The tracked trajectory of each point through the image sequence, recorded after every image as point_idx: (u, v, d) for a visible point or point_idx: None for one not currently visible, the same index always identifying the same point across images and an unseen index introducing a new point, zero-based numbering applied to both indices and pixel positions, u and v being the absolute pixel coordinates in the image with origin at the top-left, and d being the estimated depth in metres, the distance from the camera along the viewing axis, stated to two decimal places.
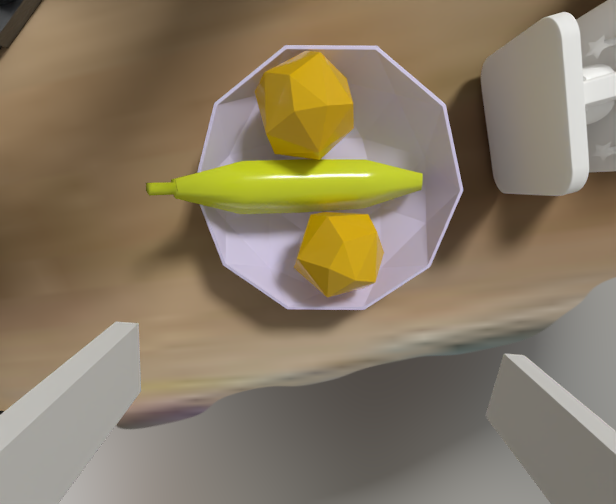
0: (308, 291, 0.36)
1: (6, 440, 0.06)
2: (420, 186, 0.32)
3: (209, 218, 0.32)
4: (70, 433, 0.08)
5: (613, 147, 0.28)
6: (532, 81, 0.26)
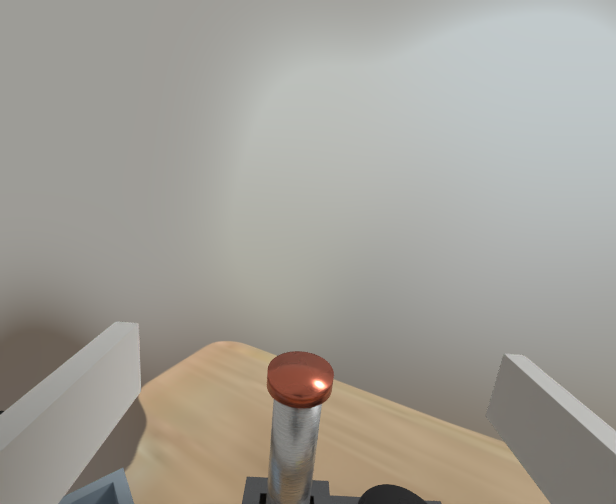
0: None
1: (6, 440, 0.06)
2: None
3: None
4: (70, 433, 0.08)
5: None
6: None
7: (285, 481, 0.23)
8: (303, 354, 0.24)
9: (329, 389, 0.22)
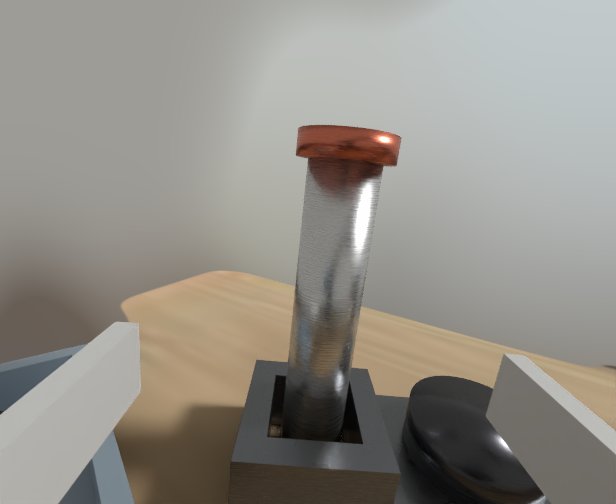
0: None
1: (6, 440, 0.06)
2: None
3: None
4: (70, 433, 0.08)
5: None
6: None
7: (322, 311, 0.15)
8: None
9: (397, 148, 0.14)
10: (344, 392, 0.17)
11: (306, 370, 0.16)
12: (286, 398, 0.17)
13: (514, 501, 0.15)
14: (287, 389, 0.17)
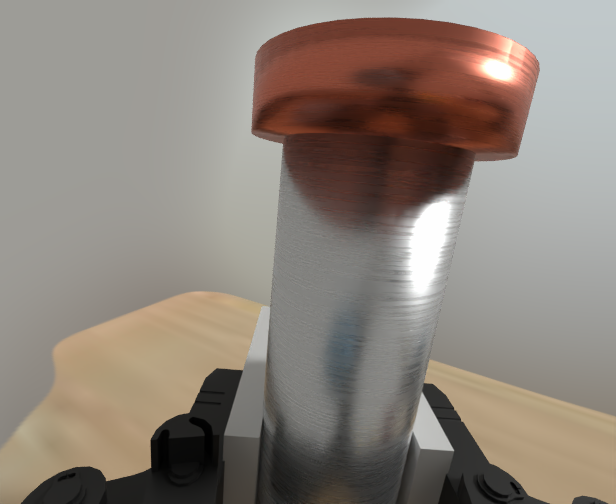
0: None
1: None
2: None
3: None
4: None
5: None
6: None
7: None
8: None
9: (528, 109, 0.05)
10: None
11: None
12: None
13: None
14: None
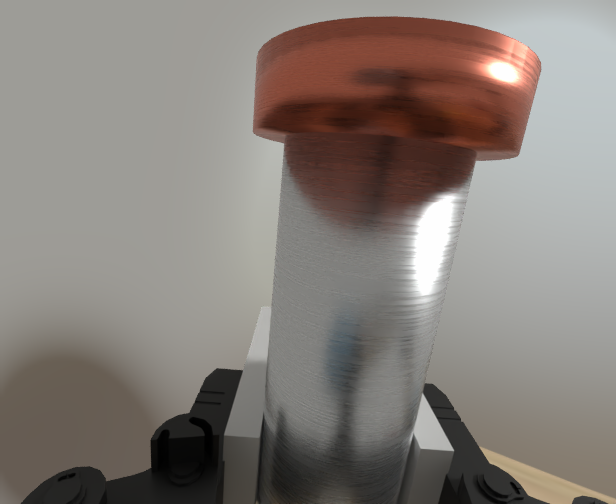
0: None
1: (265, 382, 0.08)
2: None
3: None
4: None
5: None
6: None
7: None
8: None
9: (530, 108, 0.05)
10: None
11: None
12: None
13: None
14: None
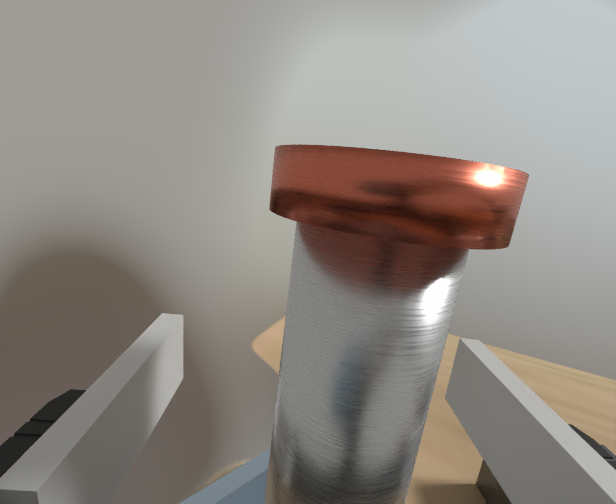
0: None
1: (98, 411, 0.07)
2: None
3: None
4: (137, 410, 0.08)
5: None
6: None
7: None
8: None
9: None
10: None
11: None
12: None
13: None
14: None
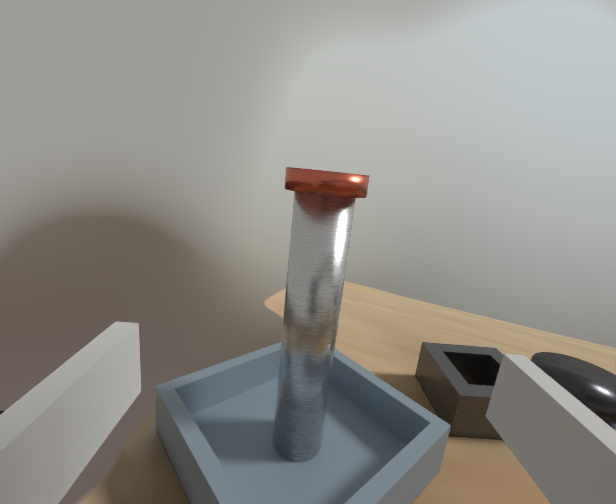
0: None
1: (6, 440, 0.06)
2: None
3: None
4: (70, 433, 0.08)
5: None
6: None
7: (307, 315, 0.18)
8: None
9: (365, 184, 0.17)
10: (327, 382, 0.20)
11: (294, 363, 0.19)
12: (278, 387, 0.21)
13: None
14: (279, 380, 0.21)
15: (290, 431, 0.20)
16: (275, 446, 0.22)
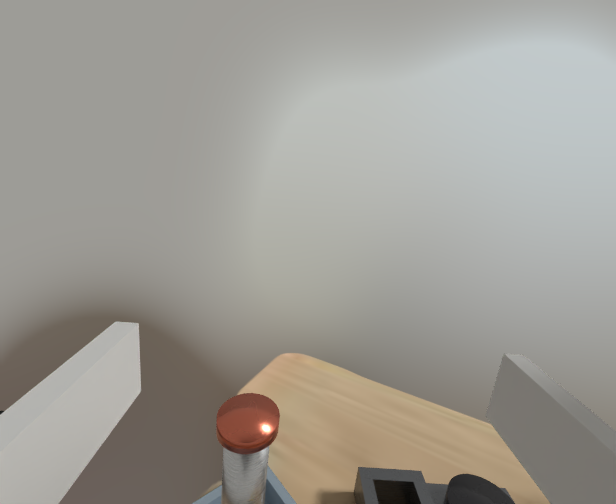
0: None
1: (6, 440, 0.06)
2: None
3: None
4: (70, 433, 0.08)
5: None
6: None
7: None
8: (255, 396, 0.26)
9: (273, 434, 0.23)
10: None
11: None
12: None
13: None
14: None
15: None
16: None
